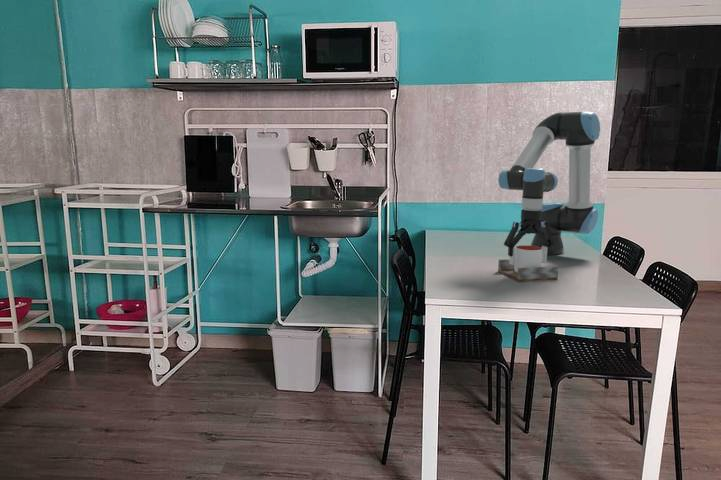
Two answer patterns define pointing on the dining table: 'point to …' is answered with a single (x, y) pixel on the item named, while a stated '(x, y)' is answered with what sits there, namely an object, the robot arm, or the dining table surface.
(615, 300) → the dining table surface
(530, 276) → the cradle
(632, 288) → the dining table surface
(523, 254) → the cup
